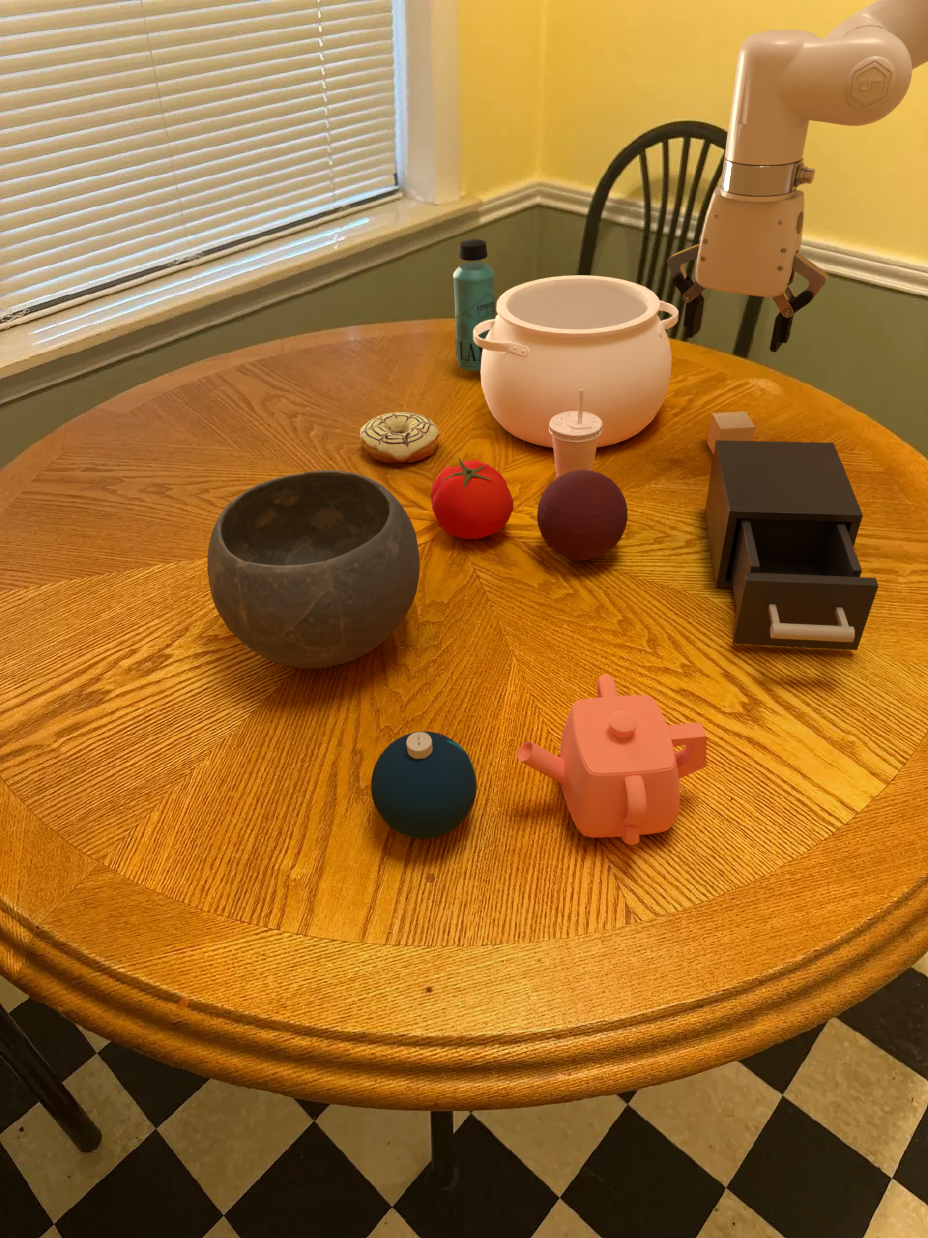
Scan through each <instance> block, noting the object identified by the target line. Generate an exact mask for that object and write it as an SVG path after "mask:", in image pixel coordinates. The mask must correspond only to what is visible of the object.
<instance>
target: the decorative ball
mask: <svg viewBox="0 0 928 1238" xmlns="http://www.w3.org/2000/svg"><path fill="white" fill-rule="evenodd" d="M628 513H629V512H628V505H627V501H626V497H625V496H624V493H623V492H622V490H621V488H620V487H619V486H618V485H617V484H616V483H615V482H614V480H613V479H611V478H610V477H608V476H606V475H605V474H603V473H601V472H598V471H595V470H592V471H591V470H575V471H571V472H568V473H566V474H563V475H561V476H559V477H558V478H557V477H556V478H554V480H553V481H552V482H550V483H549V484H548V486H547V487H546V488H545V489H544V491H543V492H542V494H541V497H540V499H539V502H538V505H537V511H536V521H537V525H538V529H539V533H540V535H541V537H542V539H543V541H544V542H545V543H546V544H547V546H548V547H549V548H550V549H552V550H553V552H555V553H556V554H558V555H559V556H561V557H564V558H566V559H570V560H573V561H589V560H594V559H597V558H600V557H602V556H604V555H606V554H607V553H608V552H610V551H611V550H613V549H614V548H615V547H616V546H617V544H618V543H619V542H620V540H621V539H622V537H623V535H624V534H625V531H626V528H627V524H628V517H629V514H628Z"/></svg>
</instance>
